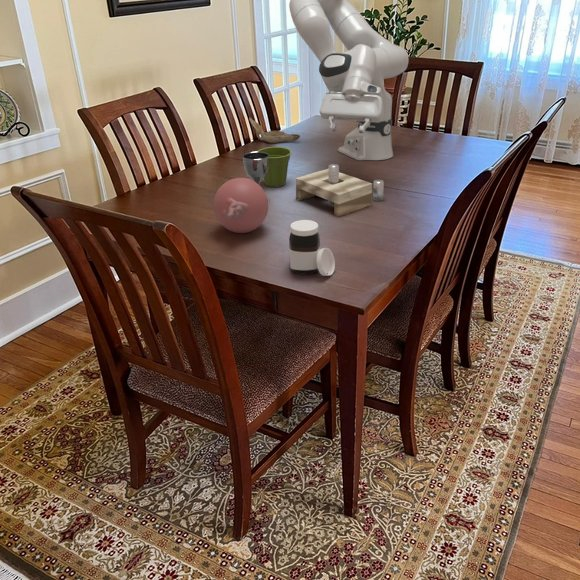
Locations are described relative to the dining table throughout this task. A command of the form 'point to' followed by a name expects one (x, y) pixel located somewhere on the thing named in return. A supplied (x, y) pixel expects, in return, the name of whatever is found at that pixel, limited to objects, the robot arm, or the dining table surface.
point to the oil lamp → (273, 134)
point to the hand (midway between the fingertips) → (346, 131)
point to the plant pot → (276, 165)
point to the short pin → (378, 190)
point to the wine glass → (256, 165)
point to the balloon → (240, 205)
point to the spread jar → (309, 249)
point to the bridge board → (336, 191)
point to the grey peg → (333, 175)
